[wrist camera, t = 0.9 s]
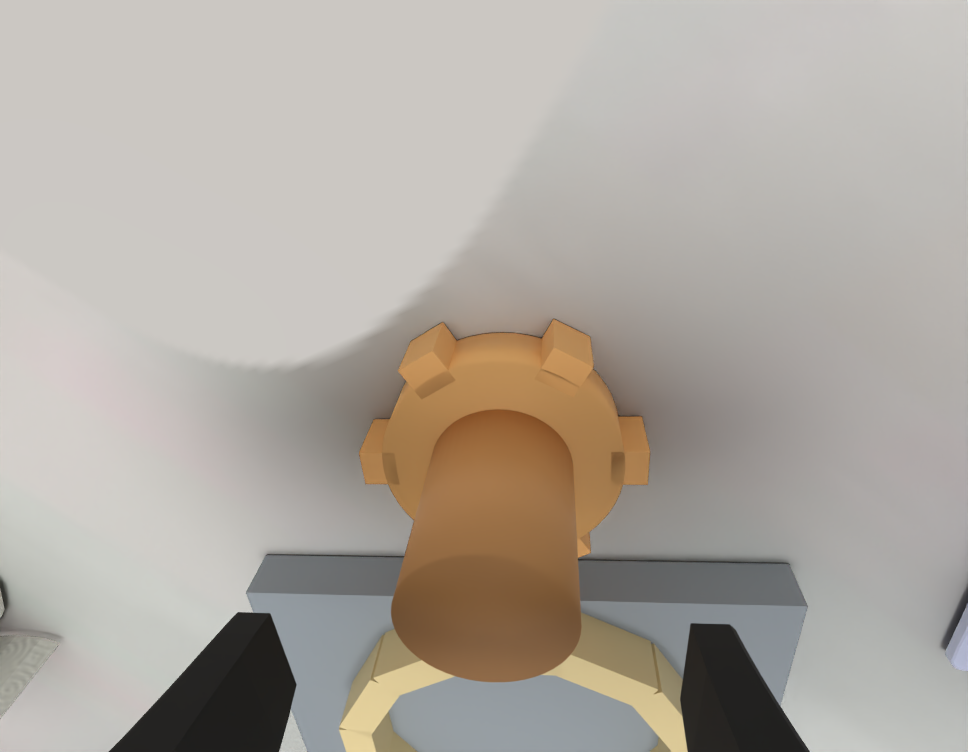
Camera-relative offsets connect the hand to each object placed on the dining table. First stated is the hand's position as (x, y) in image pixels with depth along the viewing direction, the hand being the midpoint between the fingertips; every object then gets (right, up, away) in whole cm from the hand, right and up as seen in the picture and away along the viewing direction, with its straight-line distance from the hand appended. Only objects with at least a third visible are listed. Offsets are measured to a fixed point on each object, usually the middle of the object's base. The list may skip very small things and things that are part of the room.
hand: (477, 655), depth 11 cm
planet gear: (+1, +3, +6) cm, 7 cm away
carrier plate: (+2, -9, +13) cm, 16 cm away
